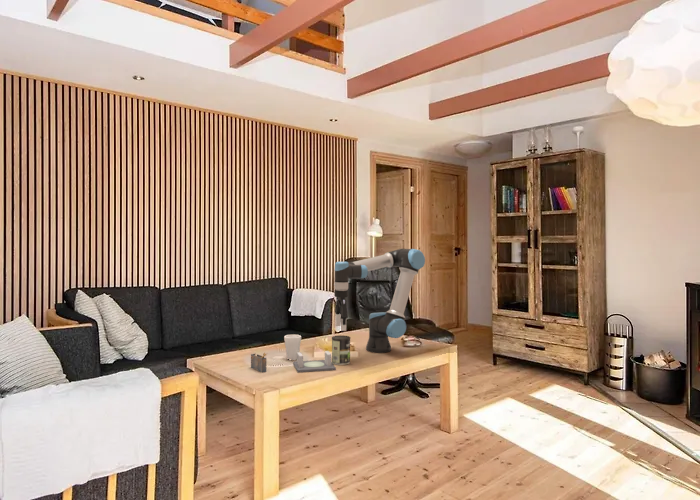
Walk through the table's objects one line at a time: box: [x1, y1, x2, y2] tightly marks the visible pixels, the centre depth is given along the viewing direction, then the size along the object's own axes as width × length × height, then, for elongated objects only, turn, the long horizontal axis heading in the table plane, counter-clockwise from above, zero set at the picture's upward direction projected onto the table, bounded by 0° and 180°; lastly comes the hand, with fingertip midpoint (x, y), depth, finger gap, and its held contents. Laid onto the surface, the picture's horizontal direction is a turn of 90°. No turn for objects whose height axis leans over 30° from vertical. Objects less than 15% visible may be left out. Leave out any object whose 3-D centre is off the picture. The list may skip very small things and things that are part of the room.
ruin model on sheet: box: [250, 352, 267, 373], centre depth 250 cm, size 11×3×10 cm, turn 41°
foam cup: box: [283, 334, 302, 361], centre depth 271 cm, size 10×9×13 cm
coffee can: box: [331, 335, 351, 366], centre depth 265 cm, size 10×10×14 cm
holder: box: [292, 350, 337, 374], centre depth 256 cm, size 20×17×7 cm
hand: (340, 328), depth 264 cm, fingers open, 13 cm apart
